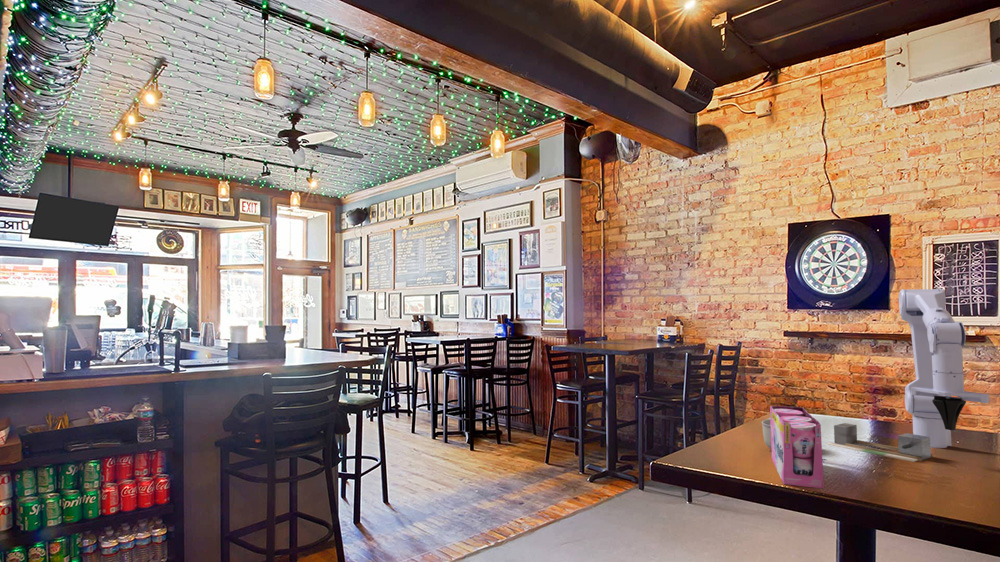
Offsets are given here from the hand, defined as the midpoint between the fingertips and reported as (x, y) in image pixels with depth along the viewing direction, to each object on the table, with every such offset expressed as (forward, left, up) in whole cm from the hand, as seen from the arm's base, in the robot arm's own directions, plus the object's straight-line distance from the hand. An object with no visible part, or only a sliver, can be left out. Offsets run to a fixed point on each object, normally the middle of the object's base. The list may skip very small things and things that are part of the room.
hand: (950, 429), depth 128 cm
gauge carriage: (+2, -8, -8) cm, 11 cm away
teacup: (+17, -32, -10) cm, 37 cm away
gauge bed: (0, -16, -9) cm, 18 cm away
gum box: (+34, -19, -10) cm, 40 cm away
